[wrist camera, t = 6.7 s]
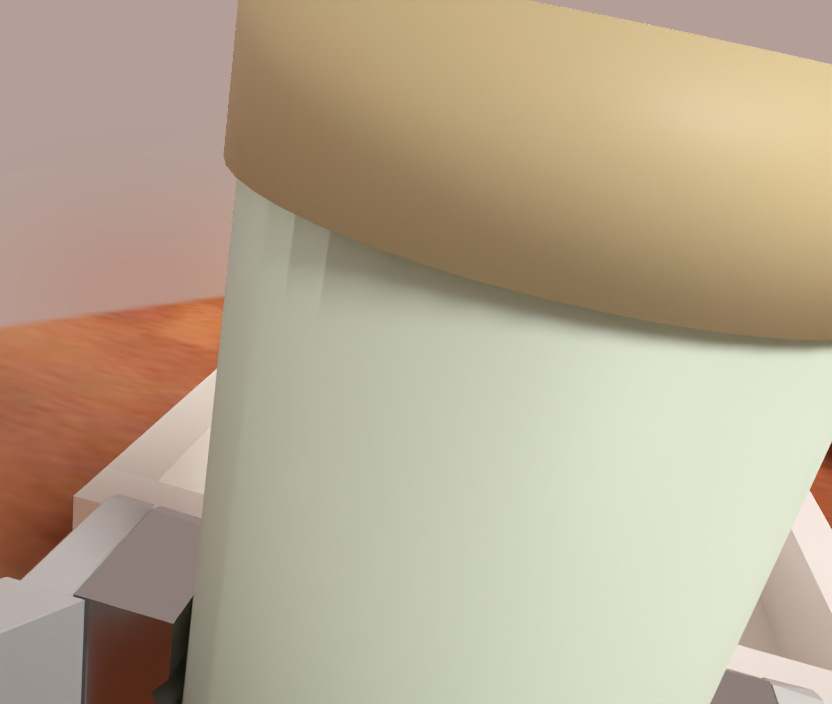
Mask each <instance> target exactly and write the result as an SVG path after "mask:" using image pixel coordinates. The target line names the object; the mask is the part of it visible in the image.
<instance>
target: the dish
mask: <svg viewBox="0 0 832 704" xmlns="http://www.w3.org/2000/svg"><path fill="white" fill-rule="evenodd" d="M216 374H217V369H216V370H215V371H214V372H213V373H211V374H210V375H209V376H208V377H207V378H206V379H205V380H204V381H202V382H201V383H200V384H199V385H198V386H197V387H196V388H195V389H193V390H192V391H191V392H190V393H189V394H188V395H187V396H186V397H184V398H183V399H182V400H181V401H180V402H179V403H178V404H176V405H175V406H174V407H173V408H172V409H171V410H170V411H169V412H167V413H166V414H165V415H164V416H163V417H162V418H161V419H160V420H158V421H157V422H156V423H155V424H154V425H153V426H152V427H151V428H149V429H148V430H147V431H146V432H145V433H144V434H143V435H142V436H140V437H139V438H138V439H137V440H136V441H135V442H134V443H132V444H131V445H130V446H129V447H128V448H127V449H126V450H125V451H123V452H122V453H121V454H120V455H119V456H118V457H117V458H116V459H114V460H113V461H112V462H111V463H110V464H109V465H108V466H107V467H105V468H104V469H103V470H102V471H101V472H100V473H99V474H98V475H96V476H95V477H94V478H93V479H92V480H91V481H90V482H88V483H87V484H86V485H85V486H84V487H83V488H82V489H81V490H79V491H78V492H77V493H76V494H75V495H74V499H73V530H74V529H75V528H76V527H77V526H78V525H79V524H80V523H81V522H82V521H83V520H84V519H85V518H86V517H87V516H88V515H89V514H91V513H92V512H93V511H94V510H95V509H96V508H97V507H98V506H99V505H100V504H101V503H102V502H103V501H104V500H105V499H107V498H108V497H110V496H114V495H118V494H121V495H124V496H128V497H131V498H135V499H138V500H141V501H145V502H148V503H151V504H155V505H157V506H159V507H160V506H163V507H166V508H169V509H173V510H176V511H179V512H182V513H186V514H189V515H192V516H195V517H199V518H202V509H203V499H204V490H205V480H206V470H207V461H208V451H209V442H210V432H211V422H212V413H213V403H214V393H215V384H216ZM727 669H731V670H734V671H738V672H741V673H745V674H749V675H752V676H756V677H759V678H763V677H765V678H769V679H773V680H777V681H780V682H784V683H788V684H792V685H796V686H800V687H804V688H808V689H811V690H814V691H815V692H816V693H817V694H818V695H819V696H820V697H821V698H822V700H823V702H824V704H832V530H831V528H830V526H829V524H828V522H827V521H826V519H825V517H824V515H823V513H822V512H821V510H820V508H819V506H818V504H817V503H816V501H815V499H814V497H813V496H812V494H811V492H810V490H809V492H808V494H807V496H806V498H805V500H804V502H803V505H802V507H801V509H800V511H799V513H798V515H797V518H796V520H795V522H794V524H793V526H792V528H791V530H790V533H789V535H788V537H787V539H786V541H785V543H784V546H783V548H782V550H781V552H780V554H779V556H778V558H777V561H776V563H775V565H774V567H773V569H772V571H771V574H770V576H769V578H768V580H767V582H766V584H765V586H764V589H763V591H762V593H761V595H760V597H759V599H758V602H757V604H756V606H755V608H754V610H753V612H752V615H751V617H750V619H749V621H748V623H747V625H746V627H745V630H744V632H743V634H742V636H741V638H740V640H739V643H738V645H737V647H736V649H735V651H734V653H733V655H732V658H731V660H730V662H729V664H728V666H727Z"/></svg>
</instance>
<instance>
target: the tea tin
mask: <svg viewBox="0 0 832 704" xmlns="http://www.w3.org/2000/svg"><path fill="white" fill-rule="evenodd" d="M224 159H225V162H226V166H227V167H228V168H229V169H230V170H231V172H232V173H233V174H234V176H235V177H236V178H237V181H236V192H235V201H234V210H233V220H232V230H231V239H230V250H229V259H228V268H227V278H226V288H225V297H224V307H223V316H222V326H221V336H220V345H219V355H218V365H217V374H216V384H215V393H214V403H213V413H212V422H211V432H210V442H209V451H208V461H207V470H206V480H205V490H204V499H203V509H202V519H201V528H200V538H199V548H198V557H197V567H196V576H195V586H194V596H193V605H192V615H191V625H190V634H189V644H188V654H187V663H186V673H185V682H184V692H183V702H182V704H710V703H711V701H712V699H713V696H714V694H715V692H716V690H717V688H718V686H719V683H720V681H721V679H722V677H723V675H724V673H725V671H726V668H727V666H728V664H729V662H730V660H731V658H732V655H733V653H734V651H735V649H736V647H737V645H738V643H739V640H740V638H741V636H742V634H743V632H744V630H745V627H746V625H747V623H748V621H749V619H750V617H751V615H752V612H753V610H754V608H755V606H756V604H757V602H758V599H759V597H760V595H761V593H762V591H763V589H764V586H765V584H766V582H767V580H768V578H769V576H770V574H771V571H772V569H773V567H774V565H775V563H776V561H777V558H778V556H779V554H780V552H781V550H782V548H783V546H784V543H785V541H786V539H787V537H788V535H789V533H790V530H791V528H792V526H793V524H794V522H795V520H796V518H797V515H798V513H799V511H800V509H801V507H802V505H803V502H804V500H805V498H806V496H807V494H808V492H809V490H810V487H811V485H812V483H813V481H814V479H815V477H816V474H817V472H818V470H819V468H820V466H821V464H822V462H823V459H824V457H825V455H826V453H827V451H828V449H829V446H830V444H831V442H832V65H831V64H826V63H822V62H818V61H814V60H809V59H804V58H800V57H796V56H792V55H787V54H783V53H778V52H774V51H769V50H765V49H760V48H755V47H751V46H747V45H742V44H737V43H733V42H728V41H723V40H719V39H714V38H710V37H705V36H700V35H696V34H691V33H686V32H681V31H677V30H672V29H667V28H663V27H658V26H653V25H648V24H644V23H639V22H633V21H629V20H625V19H620V18H614V17H610V16H605V15H600V14H595V13H590V12H585V11H580V10H575V9H570V8H565V7H560V6H555V5H550V4H545V3H540V2H534V1H530V0H239V1H238V11H237V21H236V31H235V42H234V52H233V63H232V73H231V83H230V94H229V104H228V114H227V125H226V136H225V146H224Z"/></svg>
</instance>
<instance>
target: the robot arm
mask: <svg viewBox="0 0 832 704" xmlns="http://www.w3.org/2000/svg"><path fill="white" fill-rule="evenodd" d="M201 519H202V518H199V517H195V516H192V515H189V514H186V513H182V512H179V511H176V510H173V509H169V508H166V507H163V506H160V507H159V506H157V505H155V504H151V503H148V502H145V501H141V500H138V499H135V498H131V497H128V496H124V495H121V494H118V495H114V496H110V497H108V498H107V499H105V500H104V501H103V502H102V503H101V504H100V505H99V506H98V507H97V508H96V509H95V510H94V511H93V512H92V513H91V514H89V515H88V516H87V517H86V518H85V519H84V520H83V521H82V522H81V523H80V524H79V525H78V526H77V527H76V528H75V529H74V530H73V531H72V532H71V533H69V534H68V535H67V536H66V537H65V538H64V539H63V540H62V541H61V542H60V543H59V544H58V545H57V546H56V547H55V548H54V549H53V550H52V551H50V552H49V553H48V554H47V555H46V556H45V557H44V558H43V559H42V560H41V561H40V562H39V563H38V564H37V565H36V566H35V567H34V568H33V569H32V570H30V571H29V572H28V573H27V574H26V575H25V576H24V577H23V578H22V579H21V580H17V579H13V578H10V577H4V578H1V579H0V704H182V702H183V692H184V682H185V673H186V663H187V654H188V644H189V634H190V625H191V615H192V605H193V596H194V586H195V576H196V567H197V557H198V548H199V538H200V528H201ZM710 704H824V702H823V700H822V698H821V697H820V696H819V695H818V694H817V693H816V692H815V691H814V690H811V689H808V688H804V687H800V686H796V685H792V684H788V683H784V682H780V681H777V680H773V679H769V678H765V677H763V678H759V677H756V676H752V675H749V674H745V673H741V672H738V671H734V670H731V669H727V668H726V671H725V673H724V675H723V677H722V679H721V681H720V683H719V686H718V688H717V690H716V692H715V694H714V696H713V699H712V701H711V703H710Z"/></svg>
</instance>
